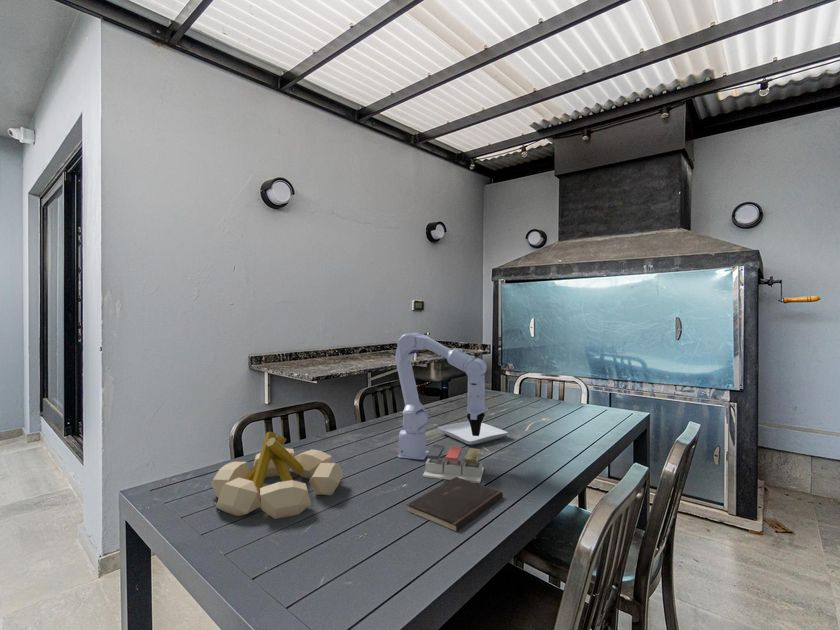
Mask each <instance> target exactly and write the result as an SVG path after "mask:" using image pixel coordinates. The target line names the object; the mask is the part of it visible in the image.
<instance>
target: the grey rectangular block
mask: <svg viewBox="0 0 840 630" xmlns="http://www.w3.org/2000/svg"><path fill="white" fill-rule="evenodd" d="M444 450H445V445H436V444H433V446H432V447H431V448H430V450H428V451H429V453H428V454H427V456H426V459H427V460H428V459H431V463H437V464H439V463H440V458H441V455H442V453H443V451H444Z"/></svg>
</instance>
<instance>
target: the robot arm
mask: <svg viewBox="0 0 840 630" xmlns="http://www.w3.org/2000/svg"><path fill="white" fill-rule="evenodd" d="M396 345H397V347H396V351H395V355H394V356H395V357H394V359H395V364H396V369H397V374H398V378H399V382H400V387H401V392H402V397H403V402H404V409H403V411H402V418H403V419H402V427H403V429H401V430H399V433H398V456H397V457H398V458H401V459H402V458H403V459H413V460H421V461H422V460H425V459H426V458H427V454H428V453H429V451H430V450H427V449H426V444H427V442H426V441H427V437H426V436H427V434H426V433H427V431H426V425H427V424H428V423H429V419H430V418H429V415H428V413H427V412H426V409H425V407H424V405H423V404H422V403H421V401H420V399H419V393H418V387H417V383H416V379H415V375H414V374H415V373H414V370H413V365H412V359H413V357H414V356H415V354H416V353H417V352H418V351H420V350H429V351H431V352H432V353H434V354H436V355H439V356H441V357H443V358H445V359H446V361H447V363H448V365H451V366H453V367H454V368H456V369H459V370H460V371H463V372H464V373H465V374H466V375H467V407H466V411H467V412H468V413H467V415H466V418H467V421H469V422H470V426H471V431H472V435H473V436H479V434H480V429H481V423H483V420H484V418H485V417H486V416H485V415H486V414H485V413H484V412H486V413H487V412H489V408H487V407H485V406H486V405H485V401H486V400H485V399H486V398H485V393H486V386H485V385H486V381H485V378H486V377H485V376H486V375H485V373H486V372H487V369H488V366H487V363H486V362H485V361H484V360H483V359H482V358H480V357H477V358H476V357H475V356H474V355H470V354H468V353H466V352H464V351H463V349H462V348H453V349H450V348H449V347H447V346H445V345H444V344H443V343H440V342H438V341H437V340H435V339H433V338H431V337H430V336H428V335H426V334H422V333H421V332H419V331H418V332H417V331H416V332H412V333H404V334H402V335H401V336H400V337H399V339H398V340H397V341H396Z"/></svg>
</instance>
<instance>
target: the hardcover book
mask: <svg viewBox="0 0 840 630" xmlns="http://www.w3.org/2000/svg"><path fill="white" fill-rule="evenodd" d="M503 498H504V493H503V492H502V491H501V490H498V489H494V488H491V487H489V486H485V485H482V484H481V483H474V482H470V481H467V480H464V479H461V478H458V477H455V478H453V479H451V480H448V481H446V482H444V483H442V484H440V485H438V486H437V487H435V488H433V489H431V490H430V491H428V492H427V493H425V494H423V495H421V496H420V497H419V496H418V497H417V498H416V499H414V500H411V501H410V502H409V503H407V504H406V507H407V511H408V512H409V513H410V514H411V513H412V514H415V515H417V516H420V517H421V518H424V519H426V520H428V521H431V522H433V523H436V524H438V525H441V526H443V527H445V528H447V529H450V530H451V531H455V532H456V533H457V532H459V531H460V530H462V529H463V528H465V527H466V526H467V525H468V524H470V523H471V522H472V521H474V520H475V519H477V518H478V517H479V516H480V515H482V514H483V513H485V512H486V511H487V510H489V509H490V508H491V507H493V506H494V505H495V504H496V503H498V502H499V501H501V500H502V499H503Z"/></svg>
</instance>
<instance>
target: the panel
mask: <svg viewBox="0 0 840 630" xmlns="http://www.w3.org/2000/svg"><path fill="white" fill-rule="evenodd" d="M424 465H425V467H424V468H425V469H424V473H423V474H422V478H429V479H431V478H432V479H439V480H448V481H449V480H451V479H453V478H455V477H458V478H461V479H464V480H467V481H470V482H474V483H477V484H481V482H482V481H481V480H482V478H483V473H484V469H485V467H483V461H477V466H476V467H468V462H465V459H458V465H450V461H448V460H446V457H445V458H443V457H440V463H439V464H437V463H431V459H428V458H427V460H426V461H425V464H424Z"/></svg>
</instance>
